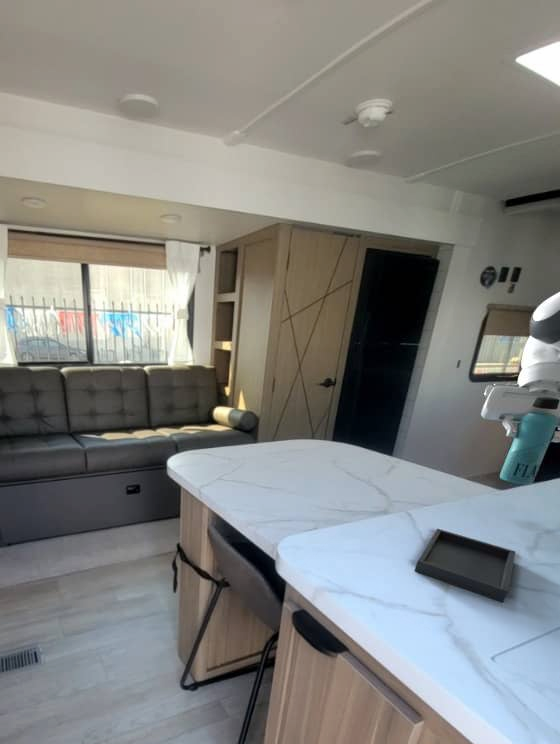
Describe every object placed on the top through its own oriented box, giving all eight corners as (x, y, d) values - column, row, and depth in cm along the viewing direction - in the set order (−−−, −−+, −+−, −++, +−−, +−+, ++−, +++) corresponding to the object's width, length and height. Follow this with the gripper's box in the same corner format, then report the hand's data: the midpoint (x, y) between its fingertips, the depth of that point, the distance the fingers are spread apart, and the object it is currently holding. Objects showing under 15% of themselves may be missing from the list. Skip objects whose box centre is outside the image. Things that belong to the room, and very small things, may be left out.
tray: (434, 537, 82) (437, 528, 81) (511, 561, 74) (515, 551, 74) (414, 571, 70) (417, 560, 69) (502, 602, 63) (508, 591, 62)
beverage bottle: (503, 489, 92) (539, 399, 83) (490, 479, 98) (522, 394, 89) (537, 492, 90) (576, 401, 82) (521, 482, 96) (557, 396, 88)
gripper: (491, 373, 94) (481, 423, 90) (608, 381, 85) (603, 437, 82) (482, 391, 99) (472, 438, 96) (591, 400, 91) (585, 452, 87)
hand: (533, 438), depth 89 cm, fingers closed on beverage bottle, 6 cm apart
